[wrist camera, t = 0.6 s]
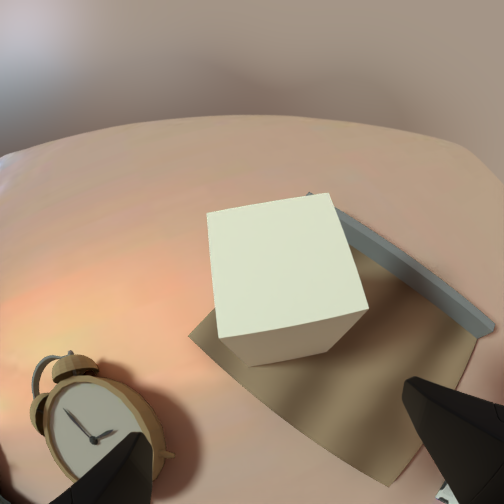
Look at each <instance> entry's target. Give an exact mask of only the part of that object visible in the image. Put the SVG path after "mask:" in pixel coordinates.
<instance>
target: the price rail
mask: <svg viewBox="0 0 504 504" xmlns="http://www.w3.org/2000/svg"><path fill="white" fill-rule="evenodd" d="M309 195H314V194H312V193H310V192H309V193H308V194H307V195H306V196H309ZM334 208H335V210H336V213H337V215H338V218H339V221H340V223H341V226H342V229H343V231H344V234H345V237H346V239H347V242H348V244H350V245H351V246H353V247H354V248H356V249H357V250H359V251H360V252H362V253H363V254H365V255H366V256H367V257H369V258H370V259H372V260H373V261H375V262H376V263H378V264H379V265H380V266H382V267H383V268H385V269H386V270H388V271H389V272H390V273H392V274H393V275H395V276H396V277H397V278H399V279H400V280H402V281H403V282H404V283H406V284H407V285H409V286H410V287H411V288H413V289H414V290H415V291H417V292H418V293H419V294H421V295H422V296H423V297H425V298H426V299H427V300H429V301H430V302H431V303H433V304H434V305H435V306H437V307H438V308H439V309H440V310H442V311H443V312H444V313H446V314H447V315H448V316H449V317H451V318H452V319H453V320H455V321H456V322H457V323H458V324H460V325H461V326H462V327H463V328H465V329H466V330H467V331H468V332H469V333H471V334H472V335H473V336H474V337H475V338H477V339H478V338H480V337H483V336H485V335H487V334H489V333H491V332H493V330H494V327H495V323H494V322H493V321H491V320H490V319H489V318H488V317H487V316H486V315H484V314H483V313H482V312H481V311H480V310H479V309H477V308H476V307H475V306H474V305H473V304H471V303H470V302H469V301H468V300H467V299H465V298H464V297H463V296H462V295H460V294H459V293H458V292H457V291H455V290H454V289H453V288H452V287H450V286H449V285H448V284H446V283H445V282H444V281H443V280H441V279H440V278H439V277H437V276H436V275H435V274H433V273H432V272H431V271H429V270H428V269H427V268H425V267H424V266H422V265H421V264H420V263H418V262H417V261H416V260H414V259H413V258H411V257H410V256H409V255H407V254H406V253H404V252H403V251H401V250H400V249H399V248H397V247H396V246H394V245H393V244H391V243H390V242H388V241H387V240H385V239H384V238H382V237H381V236H379V235H378V234H376V233H375V232H373V231H372V230H370V229H369V228H367V227H366V226H364V225H363V224H361V223H360V222H358V221H356V220H355V219H353V218H352V217H350V216H349V215H347V214H345V213H344V212H342V211H340V210H339V209H337V208H336V207H334Z"/></svg>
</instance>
